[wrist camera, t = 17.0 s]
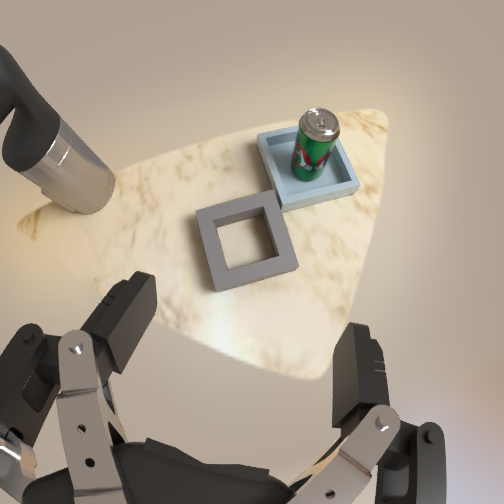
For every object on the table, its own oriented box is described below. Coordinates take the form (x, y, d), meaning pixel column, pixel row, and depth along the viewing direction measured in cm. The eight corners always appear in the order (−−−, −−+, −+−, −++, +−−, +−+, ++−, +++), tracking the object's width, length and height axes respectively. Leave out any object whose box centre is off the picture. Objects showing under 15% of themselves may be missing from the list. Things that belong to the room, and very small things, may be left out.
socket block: (219, 292, 39) (215, 290, 35) (200, 219, 41) (195, 211, 37) (295, 270, 39) (299, 266, 36) (272, 198, 41) (273, 189, 38)
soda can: (321, 155, 42) (340, 108, 30) (322, 184, 41) (344, 140, 29) (290, 152, 42) (299, 103, 30) (289, 181, 41) (300, 135, 29)
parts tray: (280, 213, 41) (282, 204, 37) (257, 146, 43) (257, 134, 40) (353, 194, 41) (360, 185, 38) (325, 132, 44) (329, 120, 40)
